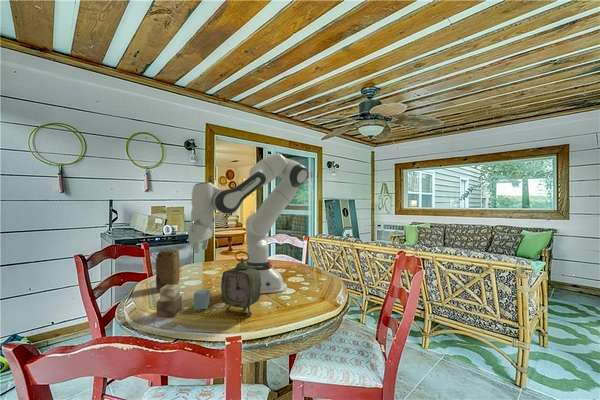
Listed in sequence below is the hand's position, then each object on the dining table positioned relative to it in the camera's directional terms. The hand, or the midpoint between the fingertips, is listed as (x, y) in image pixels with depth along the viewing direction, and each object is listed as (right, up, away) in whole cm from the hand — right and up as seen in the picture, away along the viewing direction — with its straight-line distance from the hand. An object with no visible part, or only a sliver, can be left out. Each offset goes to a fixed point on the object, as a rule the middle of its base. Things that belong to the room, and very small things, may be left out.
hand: (200, 251), depth 122 cm
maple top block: (-10, -18, -8) cm, 22 cm away
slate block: (+1, -24, -2) cm, 24 cm away
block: (-26, -24, +25) cm, 43 cm away
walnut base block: (-10, -24, -8) cm, 27 cm away
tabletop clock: (+19, -24, -6) cm, 31 cm away
